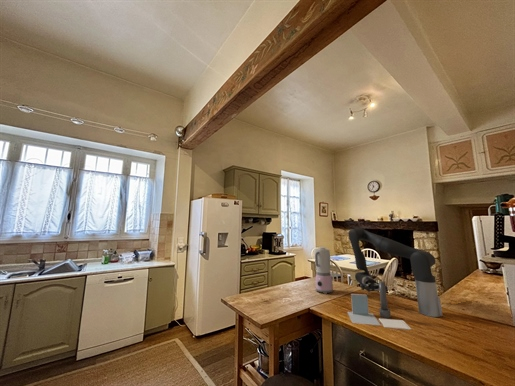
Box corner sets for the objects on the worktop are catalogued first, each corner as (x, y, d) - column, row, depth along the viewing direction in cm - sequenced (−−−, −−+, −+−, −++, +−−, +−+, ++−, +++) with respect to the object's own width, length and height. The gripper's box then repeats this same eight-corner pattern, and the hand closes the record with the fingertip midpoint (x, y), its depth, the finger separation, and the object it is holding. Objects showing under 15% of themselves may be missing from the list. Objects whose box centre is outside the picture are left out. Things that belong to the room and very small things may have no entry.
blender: (321, 288, 163) (319, 246, 168) (336, 291, 154) (333, 247, 159) (310, 292, 152) (308, 247, 157) (325, 296, 143) (322, 249, 148)
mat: (372, 314, 114) (372, 313, 114) (381, 326, 100) (381, 325, 100) (347, 312, 117) (347, 311, 117) (352, 324, 103) (352, 322, 103)
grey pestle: (388, 315, 112) (385, 280, 115) (392, 320, 107) (388, 283, 110) (378, 315, 113) (375, 280, 116) (381, 319, 108) (378, 282, 111)
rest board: (402, 322, 104) (402, 320, 104) (411, 331, 96) (411, 328, 96) (378, 320, 107) (378, 318, 107) (384, 328, 98) (384, 326, 98)
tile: (368, 314, 113) (366, 294, 115) (368, 315, 112) (367, 295, 113) (352, 312, 115) (350, 293, 117) (352, 313, 114) (351, 294, 115)
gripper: (357, 276, 139) (363, 283, 124) (380, 277, 136) (390, 284, 121) (358, 288, 138) (364, 296, 123) (381, 289, 135) (391, 298, 119)
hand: (377, 290), depth 122 cm, fingers open, 8 cm apart
